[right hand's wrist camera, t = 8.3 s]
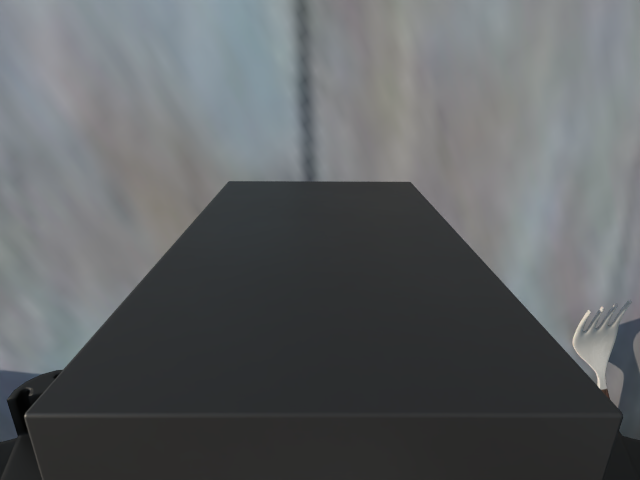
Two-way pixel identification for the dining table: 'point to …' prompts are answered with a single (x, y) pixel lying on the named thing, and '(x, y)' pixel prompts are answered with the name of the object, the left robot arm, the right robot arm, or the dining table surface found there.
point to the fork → (598, 342)
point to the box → (322, 356)
